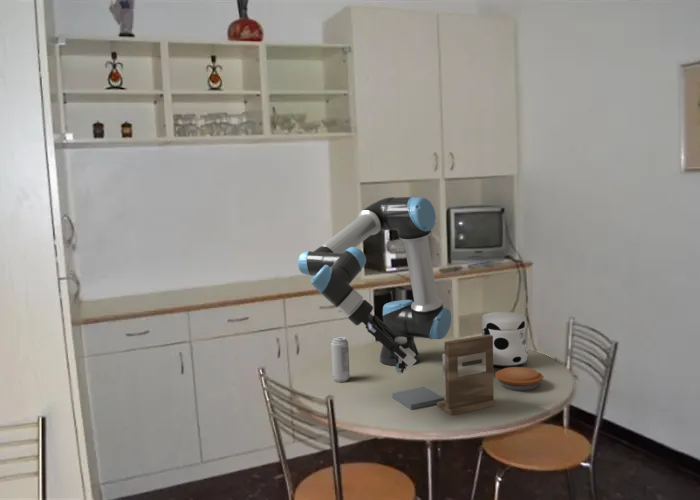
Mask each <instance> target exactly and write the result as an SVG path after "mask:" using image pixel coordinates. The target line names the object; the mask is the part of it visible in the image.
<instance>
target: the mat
mask: <svg viewBox="0 0 700 500" xmlns="http://www.w3.org/2000/svg"><path fill="white" fill-rule="evenodd" d="M391 395H392V397H391V398H392V399H394V400H395V401H397V402H399V403H400V404H402V405H403V406H405V407H407V408H409V409H410V410H414V409H420V408H423V407H424V408H425V407H428V406H434V405H437V402H439V401H444V400H445V397H444V396H443V395H440V394H438V393H436V392H434V391H433V390H432V389H429V388H428V387H425V386H422V387H417V388H416V387H415V388H411V389H406V390H401V391H397V392H392V394H391Z"/></svg>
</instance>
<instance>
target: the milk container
mask: <svg viewBox="0 0 700 500" xmlns="http://www.w3.org/2000/svg"><path fill="white" fill-rule="evenodd" d="M483 335H492V336H493V367H499V368H508V367H520V366H522V365H523V364H525V363H526V362H527V359H528V355H529V350H528V349H529V348H528V345H527V342H526V319H525V315H523V314H522V313H517V312H512V311H511V312H510V311H495V312H494V311H493V312H488V313H485V314H483V315H482V318H481V336H483Z"/></svg>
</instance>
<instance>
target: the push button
mask: <svg viewBox="0 0 700 500" xmlns="http://www.w3.org/2000/svg"><path fill="white" fill-rule="evenodd" d="M394 341H395V342H396V343H397V344H398V345H399V346H402V347H403V348H404V349H407V348H408V347H409V344H410V341H409V340H407V338H406V337H396V338H395V340H394ZM395 370H396V373H397V374H398V375H400V374H403V373H404V372H405V371H407V365H406V363H405V362H404V361H403V360H401V359H400V358H399V357H398V356H397V358H396V366H395Z"/></svg>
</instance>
